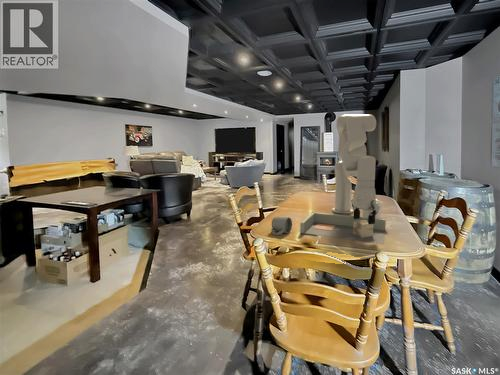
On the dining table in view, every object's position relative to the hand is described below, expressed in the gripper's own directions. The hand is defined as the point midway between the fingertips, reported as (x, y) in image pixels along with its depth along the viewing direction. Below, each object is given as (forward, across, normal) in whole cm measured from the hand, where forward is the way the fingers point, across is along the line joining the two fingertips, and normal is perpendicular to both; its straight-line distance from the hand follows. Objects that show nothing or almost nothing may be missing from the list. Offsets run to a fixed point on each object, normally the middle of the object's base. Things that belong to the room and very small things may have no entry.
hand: (363, 221), depth 127 cm
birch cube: (+7, -1, 0) cm, 7 cm away
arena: (+7, -8, -5) cm, 12 cm away
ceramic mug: (+7, -18, -33) cm, 39 cm away
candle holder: (+7, -16, +18) cm, 25 cm away
